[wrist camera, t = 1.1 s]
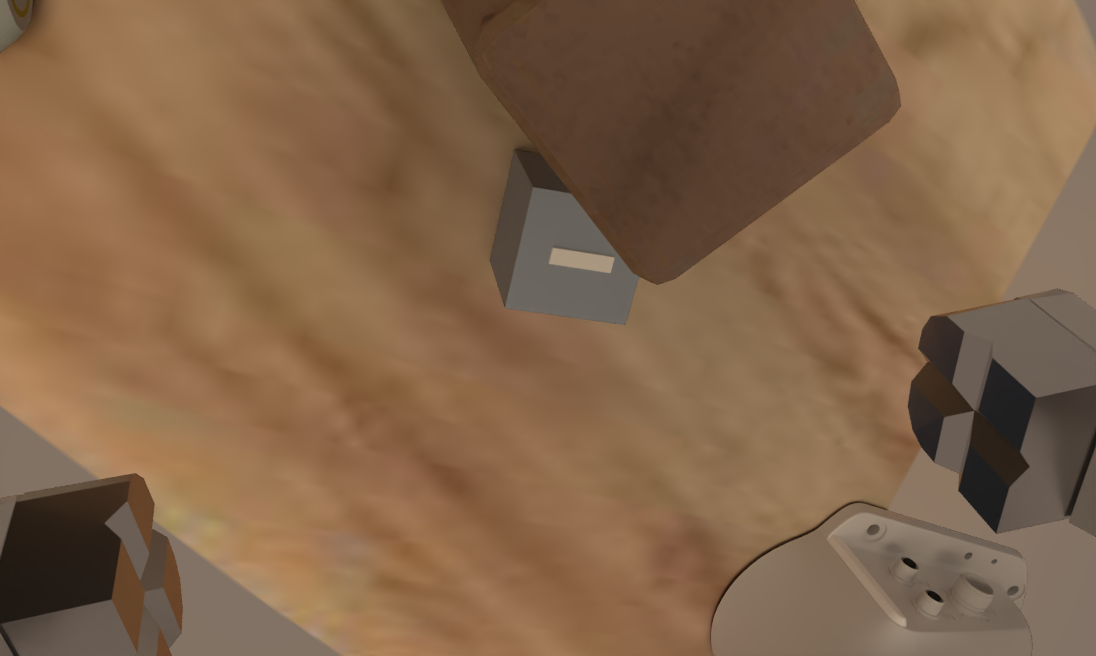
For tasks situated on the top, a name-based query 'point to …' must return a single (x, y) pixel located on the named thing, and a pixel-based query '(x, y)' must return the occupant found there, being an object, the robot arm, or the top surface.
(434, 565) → the top surface
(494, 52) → the wooden block
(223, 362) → the top surface
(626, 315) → the cube seven
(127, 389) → the top surface
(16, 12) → the air freshener
